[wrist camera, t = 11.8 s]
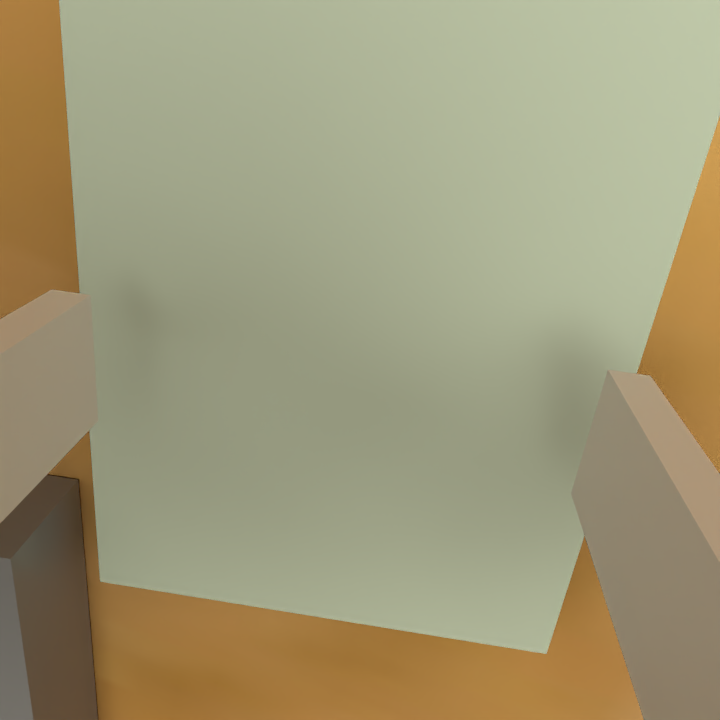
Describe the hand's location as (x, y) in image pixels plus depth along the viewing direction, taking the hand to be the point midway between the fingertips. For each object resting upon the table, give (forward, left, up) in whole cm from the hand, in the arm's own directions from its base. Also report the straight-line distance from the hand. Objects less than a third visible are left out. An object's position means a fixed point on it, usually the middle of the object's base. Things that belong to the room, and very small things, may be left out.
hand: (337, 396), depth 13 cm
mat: (0, 0, -5) cm, 5 cm away
